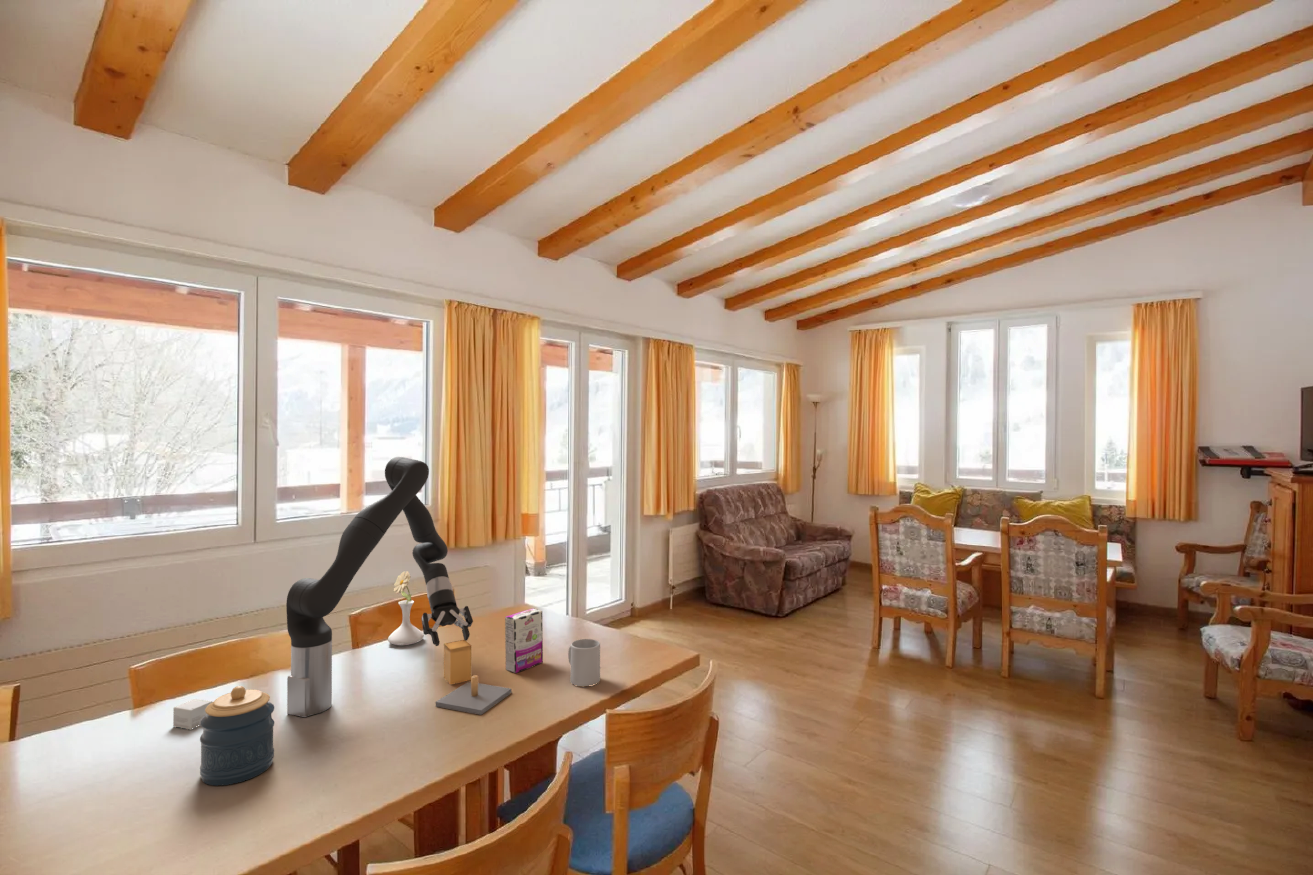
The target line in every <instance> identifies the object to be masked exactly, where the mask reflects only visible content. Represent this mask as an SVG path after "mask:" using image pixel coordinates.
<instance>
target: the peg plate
mask: <svg viewBox="0 0 1313 875" xmlns="http://www.w3.org/2000/svg"><path fill="white" fill-rule="evenodd" d="M512 692H513V691H512V688H509V687H505V686H504V687H503V686H498V685H492V684H491V685H490V684H487V683H486V684H485V683H481V682H479V675H477V674H474V675H471V680H470V681H466V682H465V683H464V684H462V685H461V686H459V687H457V688H456V689H454V690H452V691H451V692H449V693H447V694H446V695H445V696H443V697H441V698H439V699H437V700H436V701H435V707H436V708H442V709H447V710H453V711H459V712H464V713H469V714H475V715H479V716H480V715H481V716H482V715H483V714H485V713H486V712H488V711H489V710H491V708H493V707H494V706H495V704H496V705H497V704H498V703H500V702H501V701H502V700H504V699H506V697H508V696H510V693H511V694H512Z"/></svg>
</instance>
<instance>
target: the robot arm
mask: <svg viewBox="0 0 1313 875" xmlns="http://www.w3.org/2000/svg"><path fill="white" fill-rule="evenodd" d="M429 474H430V468H429V466H428V464H427V463H426V462H423V461H421V460H418V459H413V458H408V457H404V456H403V457H402V456H395V457H393V458H390V460H389V461H387V463H386V465H385V468H384V477H385V480H386V483H387V485H388V487H389V489H390V492H389V493H388V494H387V495H385V496H383V497H382V498H380V499H379V500H377V501H375V502H373V503H371V504H369V505H368V506H366V507H365V508H363V509H362V510H360V511H359V512H358V513H357V514H355V516H354V517H353V519H352V520H351V521H350V523H349V524H348V525H347V527H346V528H345V530H344V531H343V532H342V534H341V536H340V539H339V543H338V544H339V545H338V549H337V554H336V556H335V558H334V561H333V562H332V564H331V565H330V567H329V568H328V569H327V571H326V572H325V573H324V574H323V575H322V576H321V578H319V579H317V578H301V579H299V580H297V581H295V582H294V583H293V584H292V585H291V586H290V589H289V590H288V593H287V596H286V607H285V608H286V626H287V628H286V629H287V632H288V636H289V637H290V674H289V675H288V676H287V679H286V680H287V682H286V683H287V684H286V686H287V687H286V689H287V690H286V691H287V692H286V694H287V695H286V696H287V697H286V698H287V699H286V700H287V702H286V706H287V708H286V709H287V710H286V713H287V714H288V715H291V716H292V715H293V716H297V717H302V718H307V717H309V716H312V715H317V714H321V713H323V712H325V711H327V710H329V709H330V708H331V707H332V705H333V704H332V699H333V698H332V696H333V689H332V688H333V684H332V683H333V630H332V628H331V627H330V625H329V624H327V622H326V620H325V619H324V617H326V616H329V614H330V613H332V612H333V611H334V610H335V608H336V607H337V605H338V604H339V603H340V601H341V599H342V597H343V596H344V595H345V592H346V591H347V589H348V588H349V586H350V584H351V582H352V580H353V579H354V577H355V576H356V574H357V573H358V572H359V570H360V569H361V567H363V565H364V563H365V561H366V560H367V559H368V557H369V556H370V554H371V553H372V552H373V550H374V549H375V548H376V547H377V545H378V544H379V543H380V542H381V540H382V538H384V536H385V534H386V533H387V531H388V530H389V528H390V527H391V525H392V524H393V523H394V521H395V520H396V519H397V518H398V516H399V515H400V514H401V513H402V512H403V513H404V515H405V518H406V520H407V524H408V526H409V529H410V533H411V536H412V537H413V540H414V541H415V542H416V543H418V544H416V545H414V547H413V549H412V553H411V554H412V557H413V560H414V561H415V563H416V564H417V566H418V567H419V569H420V570H421V572H422V575H423V579H424V582H425V588H426V596H427V600H428V603H429V608H430V612H431V613H428V612H423V614H422V616H421V624H422V633H423V634H424V636H426V635H429V636H431V642H432V644H433V645H434V646H435V647H439V646H440V638H439V633H438V631H437V630H438V629H439V627H440V626H441V627H445V626H453V625H455V626H456V627H459V628H460V629H461V632H462V636H463V640H465V641H468V639H469V638H470V635H471V634H470V629H469V628H470V627H471V626H472V624H473V623H474V620H473V617H472V614H471V612H470V608H469V606H468V605H465V606H464V608H459V607H458V604H457V600H456V597H455V596H456V595H455V594H454V590H453V585H452V582H451V581H450V577H449V574H448V570H447V567H446V565H445V564H444V563H441V562H438V561H441V560H443V559H445V558H446V557H447V555H448V546H447V544H446V542H445V541H444V540H443V538H442V537H441V535H439V533H438V532H437V529H436V527H435V524H434V521H433V517H432V514H431V513H430V510H429V509H428V508H427V506H426V505H425V504H424V503H423V502H422V501H421V499H419V497H418V496H417V494H418V493H419V492H420V491H421V490H422V488H423V487H424V486H425V484H426V483H427V481H428V478H429ZM459 614H461V615H459ZM462 616H463V617H464V618H463V617H462ZM430 620H432V621H434V622H435V623H434V624H433V626H432V628H431V627H430V624H429V622H430Z"/></svg>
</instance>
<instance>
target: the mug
mask: <svg viewBox="0 0 1313 875" xmlns="http://www.w3.org/2000/svg"><path fill="white" fill-rule="evenodd" d="M567 654H568V663H569V666H570V680H569V681H570V683H572V684H574V685H577V686H589V685H593V684H596V683H598V682H599V681H601V642H600V641H599V640H596V639H591V638H581V639H576V640H574V641H572V642H571V644H570V645H569V646H568V653H567ZM599 683H600V682H599ZM599 683H598V684H599ZM572 684H571V685H572ZM574 685H573V686H574ZM577 686H576V687H577Z"/></svg>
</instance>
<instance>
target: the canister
mask: <svg viewBox="0 0 1313 875" xmlns="http://www.w3.org/2000/svg"><path fill="white" fill-rule="evenodd" d="M270 699H271V696H270V695H269V694H268V693H266V692H264V691H261V690H259V689H246V688H245V686H243V685H237V686H235V687H233V688H232V690H231V691H230V692H228V693H225V694H222V695H221V696H217V697H216V698H215V700H213V701H212V703H210V704H209V705H208V706H207V707H206V709H205V712H206V715H205V716H204V717H203V718H202V719H201V721H200V725H201V726H200V727H201V728H202V729H203V730H202V734H200V736H199V742H200V766H199V775H200V776H201V781H202V783H204V784H206V785H209V786H214V787H215V786H218V785H221V786H228V785H229V784H230V785H234V784H233V783H235V784H238V782H239V783H243V782H245V780H246V781H247V780H250V779H253V778H255V777H258V776H259V775H261V774H263V773H264V772H265V771H267V770H268V769H269V768H270V767H271V765H272V764H273V761H274V757H275V748H274V726H275V721H274V719H273V718H272V714H273V712H274V711H275V706H274V704H273V703H272V702H270ZM218 787H219V786H218Z"/></svg>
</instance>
